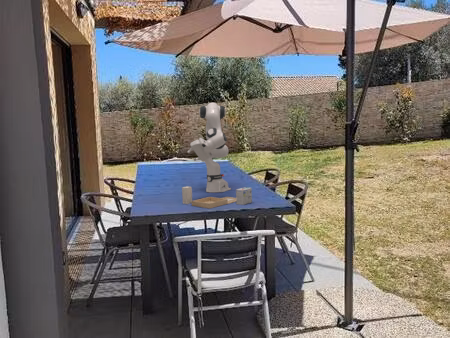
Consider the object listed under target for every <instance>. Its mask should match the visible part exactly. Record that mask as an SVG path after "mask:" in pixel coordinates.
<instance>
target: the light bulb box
mask: <svg viewBox="0 0 450 338" xmlns="http://www.w3.org/2000/svg"><path fill="white" fill-rule="evenodd" d="M252 191H253V190H252V187H247V186H246V187H241V188H237V189H235V198H236V202H235V204H236V205H241V206H244V205H247V204H251V203H253V193H252Z"/></svg>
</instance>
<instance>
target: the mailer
mask: <svg viewBox="0 0 450 338" xmlns="http://www.w3.org/2000/svg"><path fill="white" fill-rule="evenodd" d="M234 203H236V197H232V196H225V197H224V196H223V197H214V196H208V197H203V198H200V199H199V198H198V199H194V200H192V203H191V207H198V208H202V209H208V210H210V209H213V208H217V207H222V206H225V205H228V204H234Z"/></svg>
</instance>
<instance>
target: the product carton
mask: <svg viewBox="0 0 450 338" xmlns="http://www.w3.org/2000/svg"><path fill="white" fill-rule="evenodd" d="M181 195H182V204H183V205H190V204H191V205H192V201H193V189H192V186H188V185H187V186H183V187H182V186H181Z"/></svg>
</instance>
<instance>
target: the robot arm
mask: <svg viewBox="0 0 450 338" xmlns="http://www.w3.org/2000/svg"><path fill="white" fill-rule="evenodd" d="M226 113H227V112H226V108H225V106H224V105H218V104H217V103H216V102H209V103H208V104H207V105H201V106H200V107H199V109H198V115H199V117H200V118H201V119H206V124H205V138H206V140H205V139H204V138H202V137H199V138H198V139H196V140H194V141H191V142H190V143H189V146H190V147H189V149H188V150H187V153H188V154H191V152H192V151H193V152H194V153H195V155H197V157H194V158H193V161H194V162H197V161H200V160H201V162H202V163H205V165H206V179H207V180H206V188H205V192H206V193H224V192H228V191H231V190H232V187H229V182H228V181H227V180H225V179H224V178H223V177H225V174H222V173H221V165H220V163H218V162H217V161H214V160H213V159H215V158H217V159H218V158H219V159H221V158H226V157H227V156H228V155H229V147H228V146H227V145H226V143H227V142H228V139H227V135H226V134H225V133H224V131H223V129H222V124H221V120H222V119H224V118H225V116H226Z"/></svg>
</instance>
